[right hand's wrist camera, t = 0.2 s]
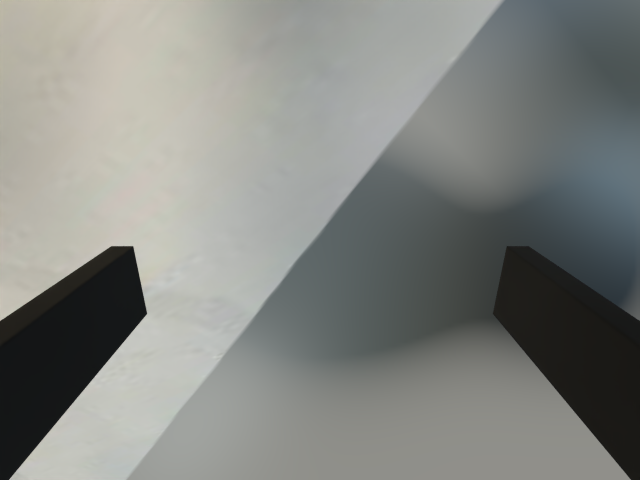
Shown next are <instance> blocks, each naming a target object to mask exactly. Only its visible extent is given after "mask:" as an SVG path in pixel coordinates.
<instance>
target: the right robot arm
mask: <svg viewBox="0 0 640 480" xmlns="http://www.w3.org/2000/svg"><path fill="white" fill-rule="evenodd" d="M146 314H147V311H146V306H145V301H144V296H143V292H142V287H141V282H140V277H139V272H138V267H137V263H136V258H135V253H134V248H133V246H111V247H110V248H108V249H107V250H105V251H104V252H102V253H101V254H99V255H98V256H96V257H95V258H93V259H92V260H90V261H89V262H87V263H86V264H84V265H83V266H81V267H80V268H78V269H77V270H75V271H74V272H73V273H71V274H70V275H68V276H67V277H65V278H64V279H62V280H61V281H59V282H58V283H56V284H55V285H53V286H52V287H50V288H49V289H47V290H46V291H44V292H43V293H41V294H40V295H38V296H37V297H35V298H34V299H32V300H31V301H29V302H28V303H26V304H25V305H23V306H22V307H21V308H19V309H18V310H16V311H15V312H13V313H12V314H10V315H9V316H7V317H6V318H4V319H3V320H1V321H0V480H9V479H10V478H11V477H12V475H13V474H14V473H15V472H16V471H17V469H18V468H19V467H20V466H21V465H22V463H23V462H24V461H25V460H26V459H27V457H28V456H29V455H30V454H31V453H32V451H33V450H34V449H35V448H36V447H37V445H38V444H39V443H40V442H41V441H42V439H43V438H44V437H45V436H46V435H47V433H48V432H49V431H50V430H51V429H52V427H53V426H54V425H55V424H56V423H57V421H58V420H59V419H60V418H61V417H62V415H63V414H64V413H65V412H66V411H67V409H68V408H69V407H70V406H71V405H72V403H73V402H74V401H75V400H76V399H77V397H78V396H79V395H80V394H81V392H82V391H83V390H84V389H85V388H86V386H87V385H88V384H89V383H90V382H91V380H92V379H93V378H94V377H95V376H96V374H97V373H98V372H99V371H100V370H101V368H102V367H103V366H104V365H105V364H106V362H107V361H108V360H109V359H110V358H111V356H112V355H113V354H114V353H115V352H116V350H117V349H118V348H119V347H120V346H121V344H122V343H123V342H124V341H125V340H126V338H127V337H128V336H129V335H130V334H131V332H132V331H133V330H134V329H135V328H136V326H137V325H138V324H139V323H140V322H141V320H142V319H143V318H144V317H145V316H146ZM493 314H494V316H495V317H496V318H497V319H498V320H499V322H500V323H501V324H502V325H503V326H504V328H505V329H506V330H507V331H508V332H509V334H510V335H511V336H512V337H513V338H514V340H515V341H516V342H517V343H518V344H519V346H520V347H521V348H522V349H523V350H524V351H525V353H526V354H527V355H528V356H529V358H530V359H531V360H532V361H533V362H534V364H535V365H536V366H537V367H538V368H539V370H540V371H541V372H542V373H543V374H544V376H545V377H546V378H547V379H548V380H549V382H550V383H551V384H552V385H553V386H554V388H555V389H556V390H557V391H558V392H559V394H560V395H561V396H562V397H563V399H564V400H565V401H566V402H567V403H568V404H569V406H570V407H571V408H572V409H573V411H574V412H575V413H576V414H577V415H578V417H579V418H580V419H581V420H582V421H583V423H584V424H585V425H586V426H587V427H588V428H589V430H590V431H591V432H592V433H593V435H594V436H595V437H596V438H597V439H598V441H599V442H600V443H601V444H602V445H603V446H604V448H605V449H606V450H607V451H608V453H609V454H610V455H611V456H612V457H613V459H614V460H615V461H616V462H617V463H618V465H619V466H620V467H621V468H622V469H623V471H624V472H625V473H626V474H627V475H628V477H629V478H630V479H631V480H640V321H639V320H637V319H636V318H634V317H633V316H631V315H630V314H628V313H627V312H625V311H624V310H622V309H621V308H619V307H618V306H616V305H615V304H614V303H612V302H611V301H609V300H608V299H606V298H605V297H603V296H602V295H600V294H599V293H597V292H596V291H594V290H593V289H591V288H590V287H588V286H587V285H585V284H584V283H582V282H581V281H579V280H578V279H576V278H575V277H573V276H572V275H570V274H569V273H567V272H566V271H564V270H563V269H562V268H560V267H559V266H557V265H556V264H554V263H553V262H551V261H550V260H548V259H547V258H545V257H544V256H542V255H541V254H539V253H538V252H536V251H535V250H533V249H532V248H530V247H529V246H507V248H506V253H505V258H504V263H503V267H502V272H501V277H500V282H499V287H498V292H497V296H496V301H495V306H494V311H493Z"/></svg>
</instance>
